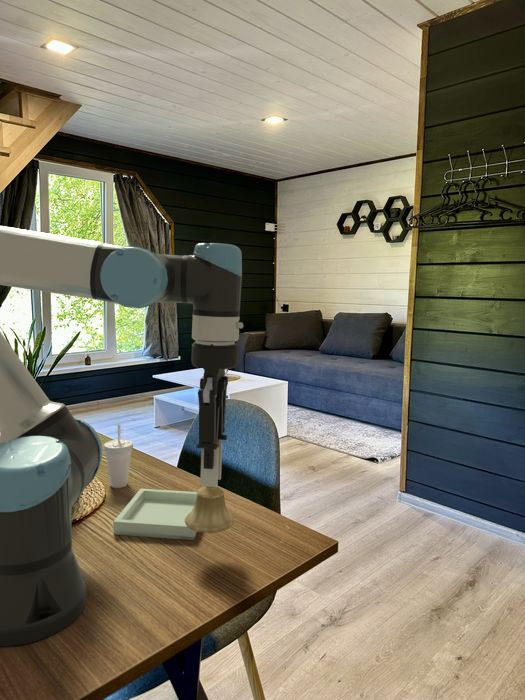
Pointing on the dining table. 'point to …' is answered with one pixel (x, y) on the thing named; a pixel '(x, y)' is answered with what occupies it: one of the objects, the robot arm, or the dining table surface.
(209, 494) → the hand bell
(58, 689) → the dining table surface
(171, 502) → the tray
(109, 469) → the smoothie
